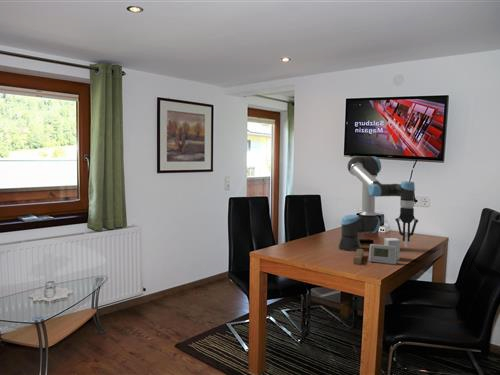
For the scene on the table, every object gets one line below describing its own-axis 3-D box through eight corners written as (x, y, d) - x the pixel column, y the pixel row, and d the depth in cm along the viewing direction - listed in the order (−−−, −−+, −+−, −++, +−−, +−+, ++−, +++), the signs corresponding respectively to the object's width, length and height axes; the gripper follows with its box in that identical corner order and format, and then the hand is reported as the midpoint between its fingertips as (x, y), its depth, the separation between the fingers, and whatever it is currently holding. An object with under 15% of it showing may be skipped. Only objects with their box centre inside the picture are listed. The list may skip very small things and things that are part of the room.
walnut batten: (356, 254, 260) (357, 248, 260) (363, 255, 259) (363, 249, 259) (353, 263, 238) (353, 257, 237) (360, 264, 236) (360, 258, 236)
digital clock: (367, 262, 242) (367, 245, 242) (371, 259, 250) (372, 242, 249) (394, 266, 233) (395, 248, 233) (398, 263, 241) (399, 245, 240)
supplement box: (395, 257, 255) (395, 237, 254) (399, 260, 248) (400, 240, 247) (383, 257, 255) (384, 237, 254) (387, 260, 247) (388, 240, 246)
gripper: (395, 207, 233) (394, 247, 235) (419, 208, 229) (418, 248, 230) (395, 206, 240) (394, 244, 242) (418, 207, 236) (417, 246, 237)
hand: (405, 246), depth 236 cm, fingers closed
